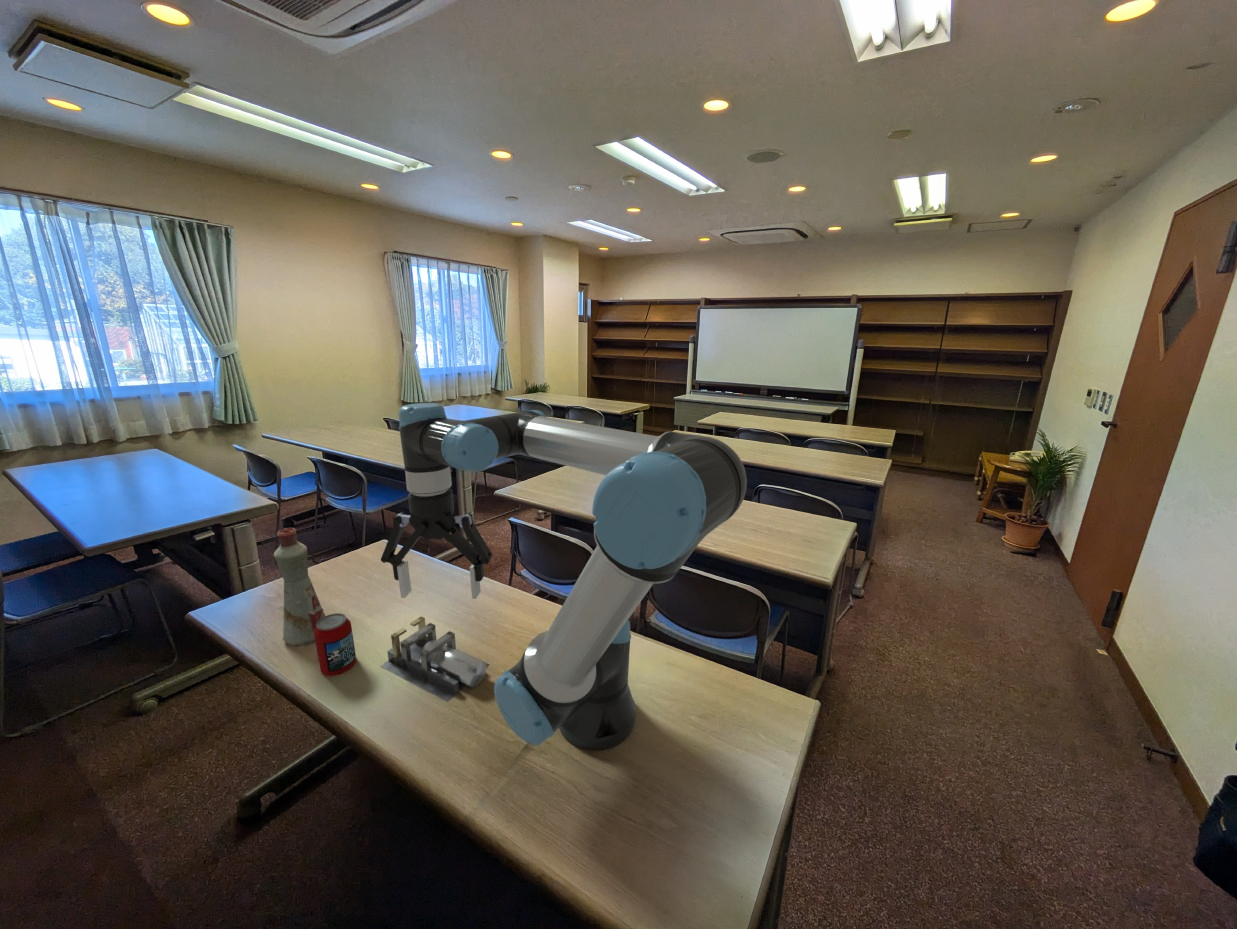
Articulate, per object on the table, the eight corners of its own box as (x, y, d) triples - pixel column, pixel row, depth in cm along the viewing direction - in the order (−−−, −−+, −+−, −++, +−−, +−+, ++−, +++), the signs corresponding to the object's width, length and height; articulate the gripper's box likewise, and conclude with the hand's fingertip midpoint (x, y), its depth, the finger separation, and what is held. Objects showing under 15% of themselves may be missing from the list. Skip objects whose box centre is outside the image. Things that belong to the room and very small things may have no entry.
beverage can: (340, 682, 96) (332, 633, 93) (313, 676, 98) (304, 627, 94) (364, 660, 103) (357, 613, 99) (337, 655, 104) (330, 609, 101)
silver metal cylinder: (485, 679, 98) (486, 657, 97) (467, 692, 93) (469, 669, 92) (437, 656, 104) (438, 636, 103) (419, 667, 99) (419, 646, 98)
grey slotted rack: (489, 668, 102) (488, 636, 99) (447, 705, 91) (444, 671, 89) (425, 639, 110) (422, 609, 108) (380, 670, 100) (376, 637, 98)
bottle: (281, 634, 110) (259, 526, 102) (325, 620, 116) (307, 516, 108) (286, 653, 104) (264, 539, 96) (332, 637, 110) (315, 529, 102)
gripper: (504, 484, 87) (510, 585, 92) (372, 482, 87) (386, 583, 93) (493, 497, 80) (500, 606, 85) (349, 495, 80) (366, 604, 86)
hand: (441, 594), depth 89 cm, fingers open, 13 cm apart
